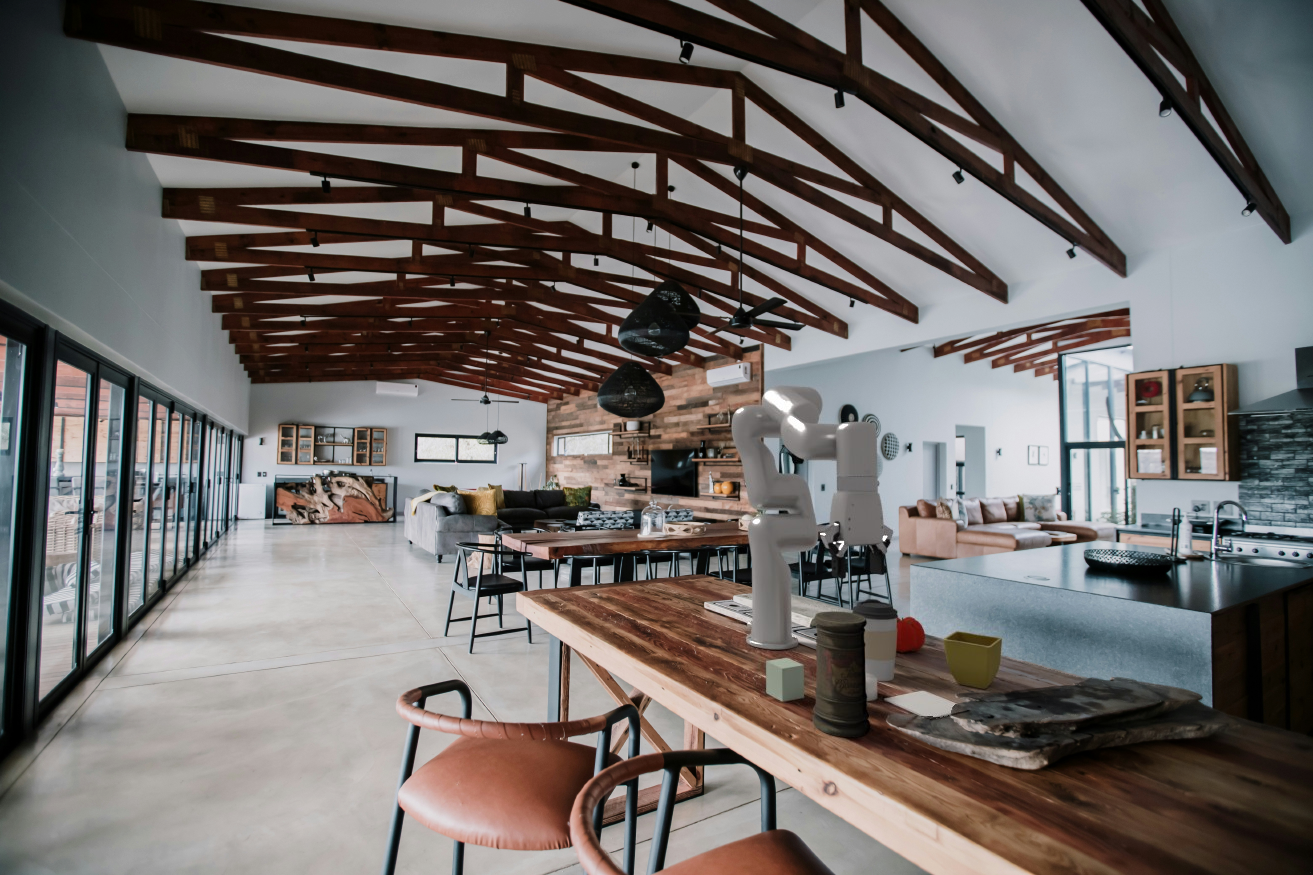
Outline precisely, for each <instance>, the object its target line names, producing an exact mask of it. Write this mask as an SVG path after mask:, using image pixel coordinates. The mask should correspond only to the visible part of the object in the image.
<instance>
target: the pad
mask: <svg viewBox="0 0 1313 875" xmlns="http://www.w3.org/2000/svg"><path fill="white" fill-rule="evenodd" d="M884 701H885V702H888V703H891V704H892V705H894V706H896V707H899V708H901V709H904V710H906V711H908V712H911V713H913V714H915V715H917V716H919V717H921V716H933V717H940V718H944V717H948V715H949V716H951V715H950V714H951V710H952V707H953V706H954V705H955V704H957V703H956V702H954V701H951V700H949V699H946V698H944V697H941V696H938V695H936V694H933V693H931V692H929V691H926V690H919V691H915V692H910V693H904V694H899V695H896V696H891V697H885V698H884ZM943 716H944V717H943Z"/></svg>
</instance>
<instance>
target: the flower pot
mask: <svg viewBox="0 0 1313 875" xmlns="http://www.w3.org/2000/svg"><path fill="white" fill-rule="evenodd" d="M942 640H943V647H944V652H945V659H946V664H947V667H948V670H949V672H950V673H951V676H952V677H953V679H954V680H955V682H956V683H957V684H960V685H963V686H968V687H973V688H977V689H982V690H984V689H987V688H988V687H989V686H990V685H991V684H992V683H993V681H994V680H995V679H996V676H997V675H998V671H999V669H1000V665H1001V657H1002V646H1003V645H1002V644H1003V639H1002V637H998V636H990V635H985V634H983V635H982V634H975V633H971V632H964V631H958V630H956V631H953V632H952V633H951V634H949V635H948V636H946V637H944V638H943V639H942Z"/></svg>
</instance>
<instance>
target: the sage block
mask: <svg viewBox="0 0 1313 875" xmlns="http://www.w3.org/2000/svg"><path fill="white" fill-rule="evenodd" d="M765 672H766V673H765V681H766V682H765V688H766V689H765V690H766V691H765V692H766V694H767V695H769V696H771V697H772V698H775V699H776V700H779V701H780V702H783V703H785V702H788V701H794V700H798V699H804V698H805V666H804V664H803V663H800V662H797V661H795V660H793V659H791V658H789V657H783V658H777V659H771V660H766V661H765Z"/></svg>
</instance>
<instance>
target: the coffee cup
mask: <svg viewBox="0 0 1313 875" xmlns="http://www.w3.org/2000/svg"><path fill="white" fill-rule="evenodd" d="M851 613H854V614H858V615H861V616H864V617H865V618H866V621H867V624H866V626H865V627H864V628H865V632H864V642H865V644H866V646H865V672H866V673H869V674H872V675H874V676H876V677H877V682H888V681H889V682H890V681H892V680H894V678H895V677H894V676H895V662H896V657H897V651H896V644H897V628H896V627H897V618H899V615H898V610H897V609H896V608H894V607H893V604H891V603H888V602H884V601H883V602H882V601H881V600H879V599H876V598H875V599H874V598H868V599H865V600H863V601H858V602H857V603H856V606H853V607H852V612H851Z"/></svg>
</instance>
